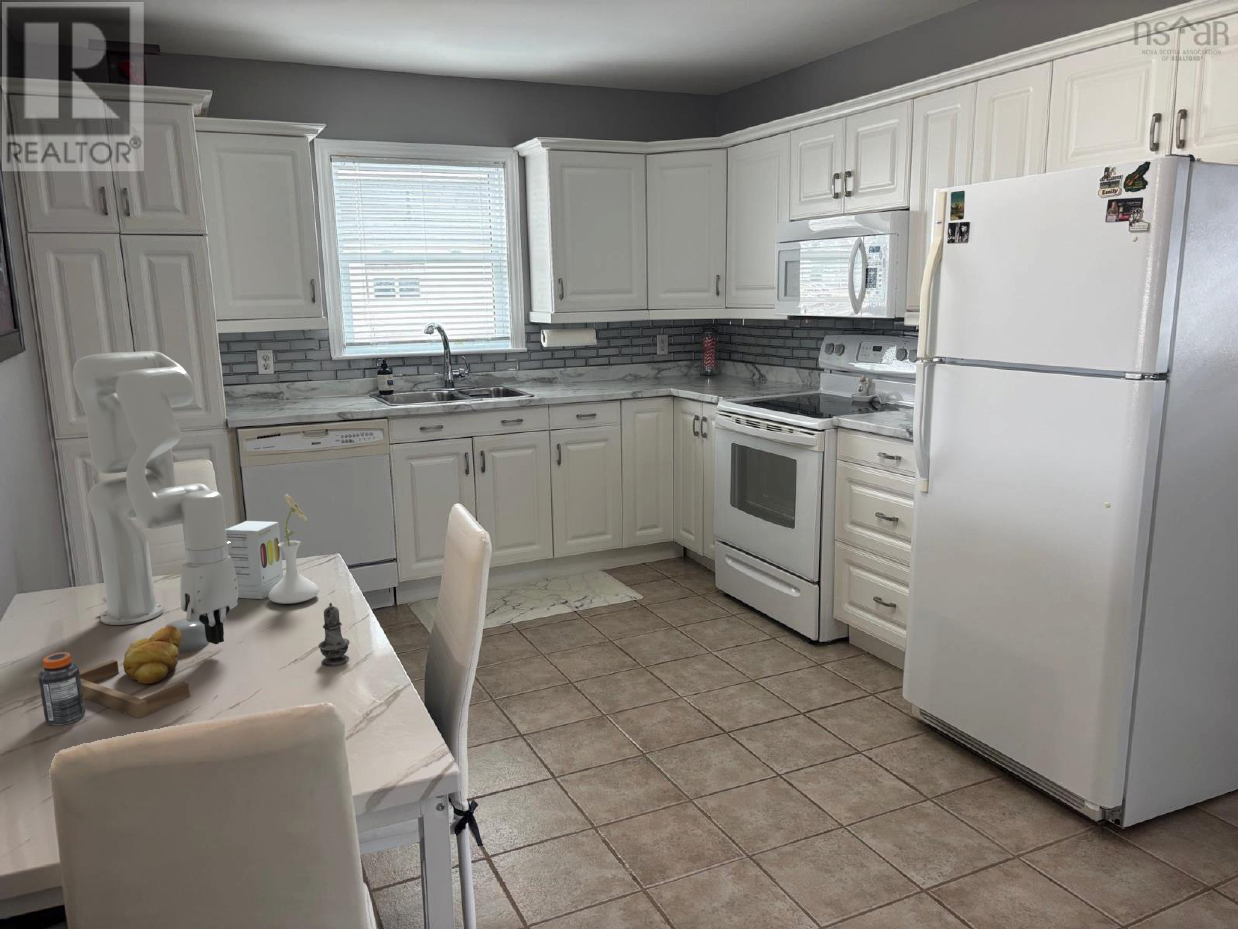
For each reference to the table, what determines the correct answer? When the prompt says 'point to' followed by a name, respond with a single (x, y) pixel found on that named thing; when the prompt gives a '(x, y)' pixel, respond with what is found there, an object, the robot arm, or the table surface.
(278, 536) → the supplement box
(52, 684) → the pill bottle
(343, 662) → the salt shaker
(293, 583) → the flower in vase
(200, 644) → the grey glossy rounded piece
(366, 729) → the table surface
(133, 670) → the bread roll
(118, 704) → the brown angled bar
